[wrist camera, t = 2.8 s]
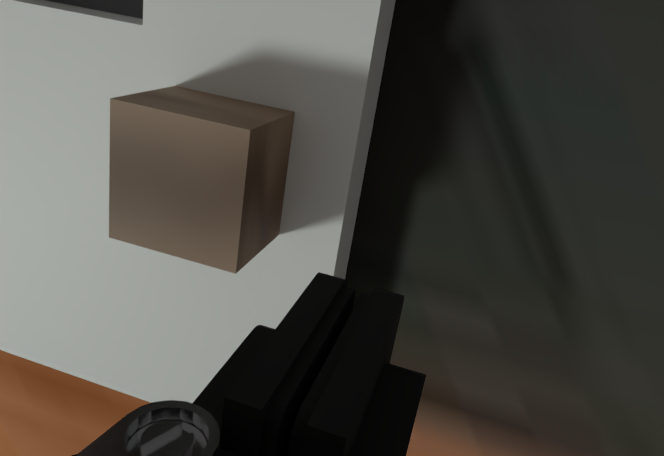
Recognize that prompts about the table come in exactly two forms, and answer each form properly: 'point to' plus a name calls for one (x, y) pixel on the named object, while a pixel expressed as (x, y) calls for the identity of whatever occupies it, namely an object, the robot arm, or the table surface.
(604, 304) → the table surface
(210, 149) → the walnut block
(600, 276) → the table surface
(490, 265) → the table surface
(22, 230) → the trap board
